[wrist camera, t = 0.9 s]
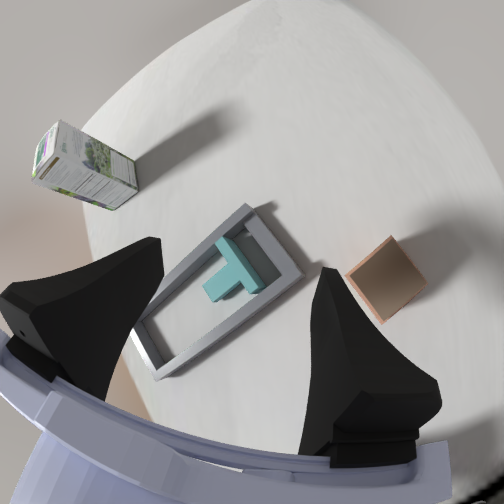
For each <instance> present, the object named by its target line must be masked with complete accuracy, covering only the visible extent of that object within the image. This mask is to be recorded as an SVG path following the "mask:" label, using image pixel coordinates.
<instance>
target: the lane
mask: <svg viewBox="0 0 504 504" xmlns="http://www.w3.org/2000/svg"><path fill="white" fill-rule="evenodd" d="M245 227H246V228H247V229H248V231H249V232H250V233H251V234H252V236H253V237H254V238H255V240H256V241H257V242H258V244H259V245H260V246H261V248H262V249H263V250H264V252H265V253H266V254H267V256H268V257H269V258H270V260H271V261H272V262H273V264H274V265H275V266H276V268H277V269H278V270H279V272H280V273H281V274H282V276H281V277H279V278H278V279H277V280H276V281H274V282H273V283H272V284H271V285H269V286H268V287H267V288H266V289H264V290H263V291H262V292H261V293H259V294H258V295H257V296H256V297H254V298H253V299H252V300H250V301H249V302H248V303H247V304H245V305H244V306H243V307H241V308H240V309H239V310H238V311H236V312H235V313H234V314H232V315H231V316H230V317H228V318H227V319H226V320H225V321H223V322H222V323H221V324H219V325H218V326H217V327H215V328H214V329H213V330H211V331H210V332H209V333H207V334H206V335H205V336H203V337H202V338H201V339H199V340H198V341H197V342H195V343H194V344H193V345H191V346H190V347H189V348H187V349H186V350H184V351H183V352H182V353H180V354H179V355H178V356H176V357H175V358H173V359H172V360H171V361H169V362H168V363H167V364H165V362H164V361H163V359H162V357H161V356H160V354H159V352H158V350H157V349H156V347H155V345H154V343H153V341H152V340H151V338H150V336H149V334H148V332H147V330H146V329H145V327H144V325H143V323H142V320H143V319H144V318H145V317H146V316H147V315H149V314H150V313H151V312H152V311H153V310H154V309H155V308H156V307H157V306H158V305H159V304H160V303H161V302H163V301H164V300H165V299H166V298H167V297H168V296H169V295H170V294H171V293H172V292H173V291H175V290H176V289H177V288H178V287H179V286H180V285H181V284H182V283H183V282H184V281H185V280H187V279H188V278H189V277H190V276H191V275H192V274H193V273H194V272H195V271H197V270H198V269H199V268H200V267H201V266H202V265H203V264H204V263H205V262H207V261H208V260H209V259H210V258H211V257H212V256H213V255H214V254H216V253H217V252H218V251H219V249H218V248H217V246H216V245H215V242H216V241H217V240H219V239H220V238H221V237H222V236H223V237H225V238H228V239H232V238H234V237H235V236H236V235H237V234H238V233H239V232H240V231H242V230H243V229H244V228H245ZM304 276H306V275H305V274H304V273H303V271H302V270H301V269H300V268H299V266H298V265H297V264H296V262H295V261H294V260H293V259H292V257H291V256H290V255H289V253H288V252H287V251H286V250H285V248H284V247H283V246H282V244H281V243H280V242H279V241H278V239H277V238H276V237H275V236H274V234H273V233H272V232H271V231H270V229H269V228H268V227H267V226H266V224H265V223H264V222H263V221H262V219H261V218H260V217H259V216H258V214H257V213H256V212H255V211H254V209H253V208H252V207H250V206H249V205H248V204H246V203H245V204H243V205H242V206H241V207H240V208H239V209H238V210H237V211H236V212H234V213H233V214H232V215H231V216H230V217H229V218H228V219H227V220H226V221H224V222H223V223H222V224H221V225H220V226H219V227H218V228H217V229H216V230H215V231H213V232H212V233H211V234H210V235H209V236H208V237H207V238H206V239H205V240H204V241H203V242H201V243H200V244H199V245H198V246H197V247H196V248H195V249H194V250H193V251H192V252H191V253H190V254H189V255H188V256H187V257H185V258H184V259H183V260H182V261H181V262H180V263H179V264H178V265H177V266H176V267H175V268H174V269H173V270H172V271H171V272H170V273H169V274H168V275H167V276H166V277H165V278H164V279H162V281H161V283H160V286H159V288H158V290H157V292H156V293H155V295H154V296H153V298H152V299H151V301H150V302H149V304H148V305H147V307H146V309H145V310H144V312H143V313H142V315H141V316H140V318H139V319H138V321H137V322H136V324H135V325H134V327H133V329H132V330H131V332H130V335H131V337H132V339H133V341H134V343H135V345H136V347H137V349H138V351H139V353H140V354H141V356H142V358H143V360H144V362H145V363H146V365H147V367H148V369H149V371H150V372H151V374H152V376H153V377H154V379H155V381H159V380H162V379H164V378H167V377H168V376H170V375H171V374H173V373H174V372H176V371H177V370H179V369H180V368H182V367H183V366H185V365H186V364H187V363H189V362H190V361H192V360H193V359H195V358H196V357H198V356H199V355H200V354H202V353H203V352H205V351H206V350H208V349H209V348H210V347H212V346H213V345H215V344H216V343H217V342H219V341H220V340H222V339H223V338H224V337H226V336H227V335H229V334H230V333H231V332H233V331H234V330H235V329H237V328H238V327H239V326H241V325H242V324H244V323H245V322H246V321H248V320H249V319H250V318H252V317H253V316H254V315H256V314H257V313H258V312H260V311H261V310H262V309H263V308H265V307H266V306H267V305H269V304H270V303H271V302H273V301H274V300H275V299H276V298H278V297H279V296H280V295H282V294H283V293H284V292H285V291H287V290H288V289H289V288H291V287H292V286H293V285H294V284H296V283H297V282H298V281H299V280H301V279H302V278H303V277H304Z"/></svg>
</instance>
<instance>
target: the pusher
mask: <svg viewBox="0 0 504 504" xmlns="http://www.w3.org/2000/svg"><path fill="white" fill-rule="evenodd" d="M215 245H216V246H217V248H218V249H219V251H220V252H221V254H222V255H223V257H224V258H225V259H226V261H227V262H228V264H227V265H226V266H224V267H223V268H222V269H221V270H220V271H219V272H217V273H216V274H215V275H214V276H213V277H212V278H211V279H209V280H208V281H207V282H206V283H205V284H204V285H202V287H203V288H204V290H205V291H206V293H207V294H208V296H209V298H210V299H211V301H212V302H218V301H219V300H221V299H222V298H223V297H224V296H225V295H227V294H228V293H229V292H230V291H232V290H233V289H234V288H235V287H236V286H238V285H239V284H240V283H242V284H243V286H244V287H245V288H246V290H247V291H248V293H249V294H259V293H260V292H262V291H263V290H264V289H265V288H267V287H266V285H265V284H264V283H263V281H262V280H261V278H260V277H259V276H258V274H257V273H256V272H255V270H254V269H253V267H252V266H251V265H250V263H249V262H248V260H247V259H246V258H245V256H244V255H243V254H242V252H241V251H240V249H239V248H238V247H237V245H236V244H235V242H234V241H233V240H231V239H228V238H225V237H223V236H222V237H221V238H220V239H219V240H217V241H216V242H215Z"/></svg>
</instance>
